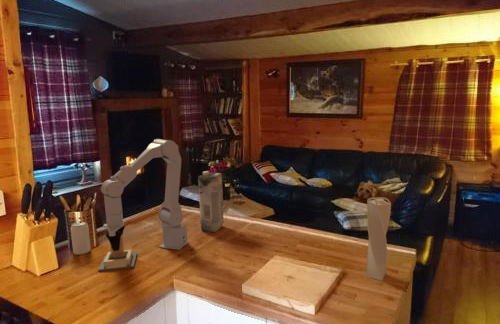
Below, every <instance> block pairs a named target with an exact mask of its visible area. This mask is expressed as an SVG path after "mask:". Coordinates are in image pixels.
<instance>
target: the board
mask: <svg viewBox="0 0 500 324" xmlns="http://www.w3.org/2000/svg"><path fill="white" fill-rule="evenodd" d="M137 255H138V252H133V250H132V249H124V254H123V255H121V256H112V255H111V251H107V253H106V255H104V256H103V259H102V261H101V263H100V265H99V267H98V272H107V271H108V272H109V271H110V272H111V271H118V270H127V269H134V268H135V264H136V260H137V257H138V256H137Z"/></svg>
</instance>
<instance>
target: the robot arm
mask: <svg viewBox="0 0 500 324" xmlns="http://www.w3.org/2000/svg"><path fill="white" fill-rule="evenodd" d="M179 151H180V150H179V145H178V144H177V143H176V142H175V141H173V140H171V139H161V138H156V139H154V140H153V141H152V142H151V143H149V144H148V146H147V147H146V149H145V150H144V151H142V152H141V154H139V156H138V157H137V158H136V159H134V161H133V162H132V163H131V164H128V165H127V164H126V165H121V166H120V167H119V170H118V171H117V172H116V173H114V175H111V176H110V177H109V178H110V179H107V180H105V181H103V182H102V184H101V187H100V191H101V193H102V194H103V199H104V208H105V209H104V211H105V220H106V223H104V224H103V228H106V229H107V232H106V233H105V237H106V238H107V239H108V242H109V243H110V248H111V247H112V249H113V251H119V249H120V239H121V235H123V234H124V229H125V227H126V225H125V222H124V217H123V215H124V214H123V204H122V203H123V202H122V194H123V193H124V189H125V188H126V187H127V185H129V184H130V183H131V182H132V181H133V180H134V179H136V177H137V176H138V175H137V174H138V172H139V170H140V169H142V168H143V167H144V166H145V165H146V164H148V163H149V162H150V161H151V160H152V159H156V158H162V159H163V161H165V162H166V164H167V166H166V175H165V176H166V179H165V190H164V191H165V193H164V201H163V202H161V205H160V209H159V211H158V215H157V216H158V219H159V220H160V221H161V229H162V241H163V242H162V243H161V244H160V245H159V246H158V248H163V249H168V250H169V249H170V250H179V251H180V250H181V249H182V248H183V247H185V246H186V245H188V244H189V241H188V230H187V226H185V225H184V224H183V225H182V221H183V220H184V215H183V213H182V206H181V205H180V204H181V203H179V197H180V196H179V195H180V184H181V169H182V157H181V154H180V152H179ZM118 231H121V232H118Z"/></svg>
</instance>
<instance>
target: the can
mask: <svg viewBox="0 0 500 324" xmlns="http://www.w3.org/2000/svg"><path fill="white" fill-rule="evenodd" d="M83 221H84V220H83ZM76 222H77V221H75V222H72V223H71V226H70V236H71V244H72V245H71V246H72V253H73V254H74V255H77V256H81V255H85V254H88V253H90V251H91V240H90V239H91V238H90V230H89V224H88V223H87V221H84V222H81V223H76Z"/></svg>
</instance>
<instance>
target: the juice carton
mask: <svg viewBox="0 0 500 324" xmlns="http://www.w3.org/2000/svg"><path fill="white" fill-rule="evenodd" d="M222 176H223V175H222V173H221V172H210V171H209V170H206V171H205V170H204V171H202V175H198V177H197V182H198V200H199V221H200V222H199V223H200V229H201V232H212V233H217V231H218V230H220V229H221V228H222V227H223V225H224V201H223V177H222Z"/></svg>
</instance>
